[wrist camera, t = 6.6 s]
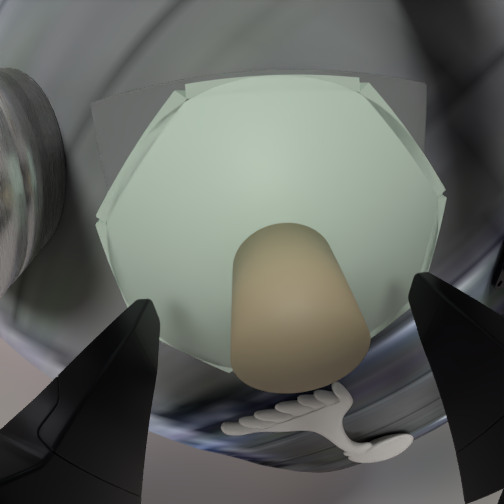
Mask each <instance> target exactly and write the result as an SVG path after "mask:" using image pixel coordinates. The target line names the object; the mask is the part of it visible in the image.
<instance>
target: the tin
mask: <svg viewBox="0 0 504 504" xmlns="http://www.w3.org/2000/svg"><path fill="white" fill-rule="evenodd" d="M65 185H66V169H65V158H64V150H63V144H62V138H61V134H60V130H59V126H58V123H57V120H56V117H55V114H54V112H53V109H52V107H51V105H50V103H49V101H48V99H47V97H46V96H45V94H44V92H43V91H42V89H41V88H40V87H39V86H38V84H37V83H36V82H35V81H34V80H33V79H32V78H31V77H29V76H28V75H27V74H25V73H23V72H21V71H19V70H16V69H12V68H0V298H1V297H2V296H3V294H4V293H5V292H6V291H7V289H8V288H9V287H10V285H11V284H12V283H13V282H15V281H16V280H17V278H18V277H19V276H20V275H21V273H22V272H23V271H24V270H25V269H26V267H27V266H28V265H29V264H30V263H31V261H32V260H33V259H34V258H35V257H36V256H37V254H38V253H39V251H40V250H41V249H42V248H43V247H44V245H45V244H46V243H47V242H48V241H49V240H50V238H51V237H52V235H53V234H54V232H55V230H56V227H57V225H58V223H59V220H60V216H61V213H62V209H63V203H64V197H65Z"/></svg>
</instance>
